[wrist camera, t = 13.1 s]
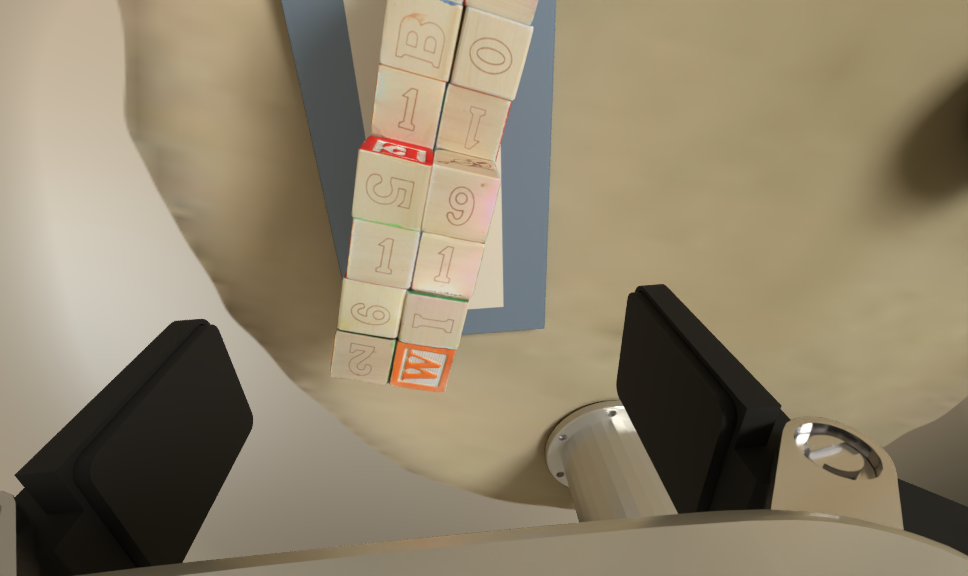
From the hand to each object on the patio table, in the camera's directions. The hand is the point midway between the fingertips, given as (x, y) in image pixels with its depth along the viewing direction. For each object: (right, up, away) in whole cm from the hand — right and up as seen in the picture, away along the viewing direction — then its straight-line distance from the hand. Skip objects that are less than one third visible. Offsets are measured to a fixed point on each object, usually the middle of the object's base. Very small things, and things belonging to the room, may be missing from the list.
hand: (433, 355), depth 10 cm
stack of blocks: (-2, +11, +19) cm, 23 cm away
